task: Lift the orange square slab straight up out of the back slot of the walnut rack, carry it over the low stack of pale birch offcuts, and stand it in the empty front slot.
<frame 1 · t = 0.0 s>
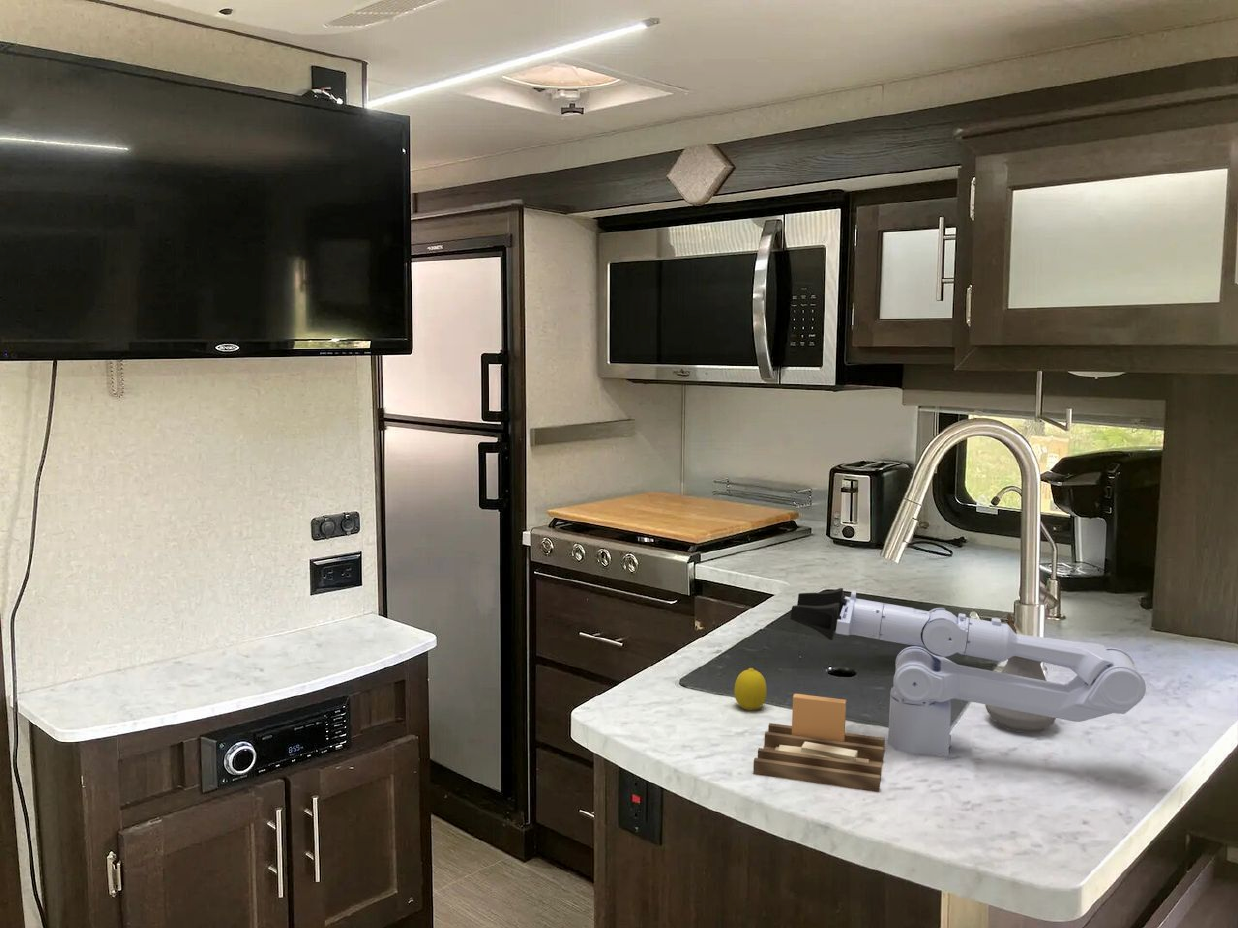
hand: (794, 605, 159), 22 cm above the worktop, tool horizontal, fingers open, 7 cm apart
orange square slab: (817, 747, 155), point 1 cm above the worktop, touching rack
offcut stack: (820, 761, 150), point 1 cm above the worktop, touching rack
lemon: (749, 713, 171), on the worktop
coffee pot: (1014, 713, 172), on the worktop
rack: (820, 766, 150), on the worktop
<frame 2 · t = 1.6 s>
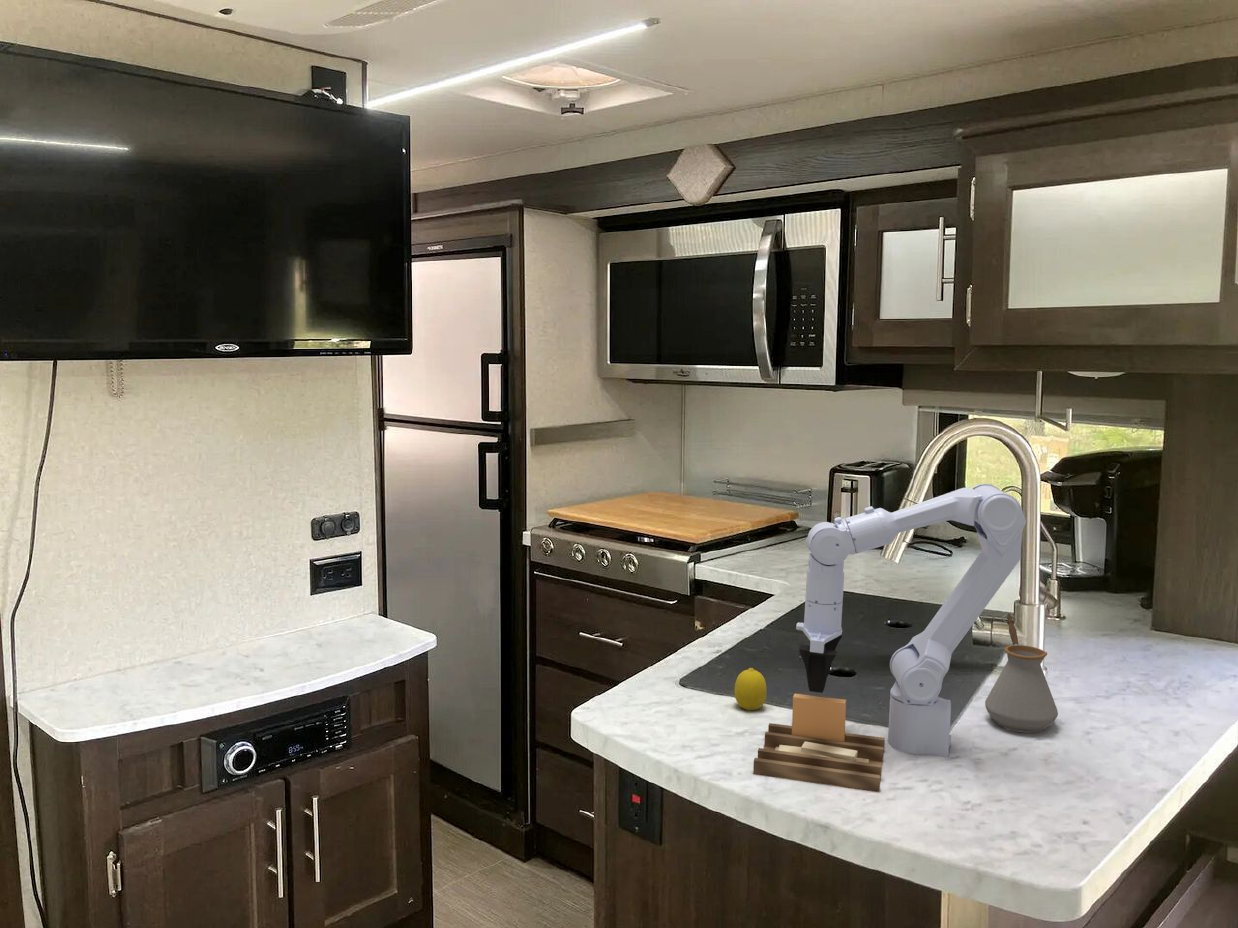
hand: (818, 682, 156), 10 cm above the worktop, tool pointing down, fingers open, 7 cm apart
nothing on the worktop moved.
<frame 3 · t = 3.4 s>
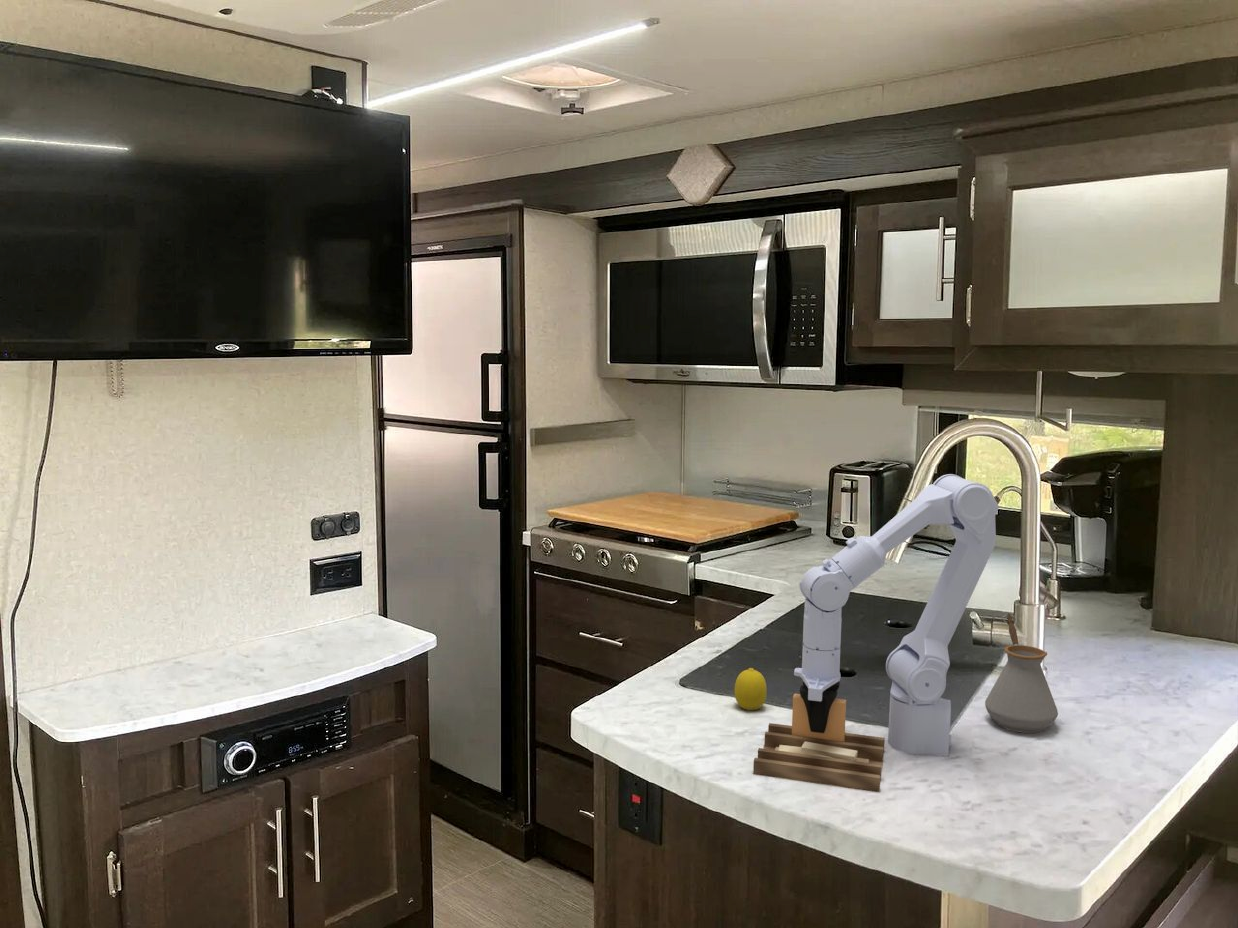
hand: (818, 728, 154), 4 cm above the worktop, tool pointing down, fingers closed on orange square slab, 2 cm apart
orange square slab: (817, 747, 155), point 1 cm above the worktop, touching gripper, rack
everything else where it was.
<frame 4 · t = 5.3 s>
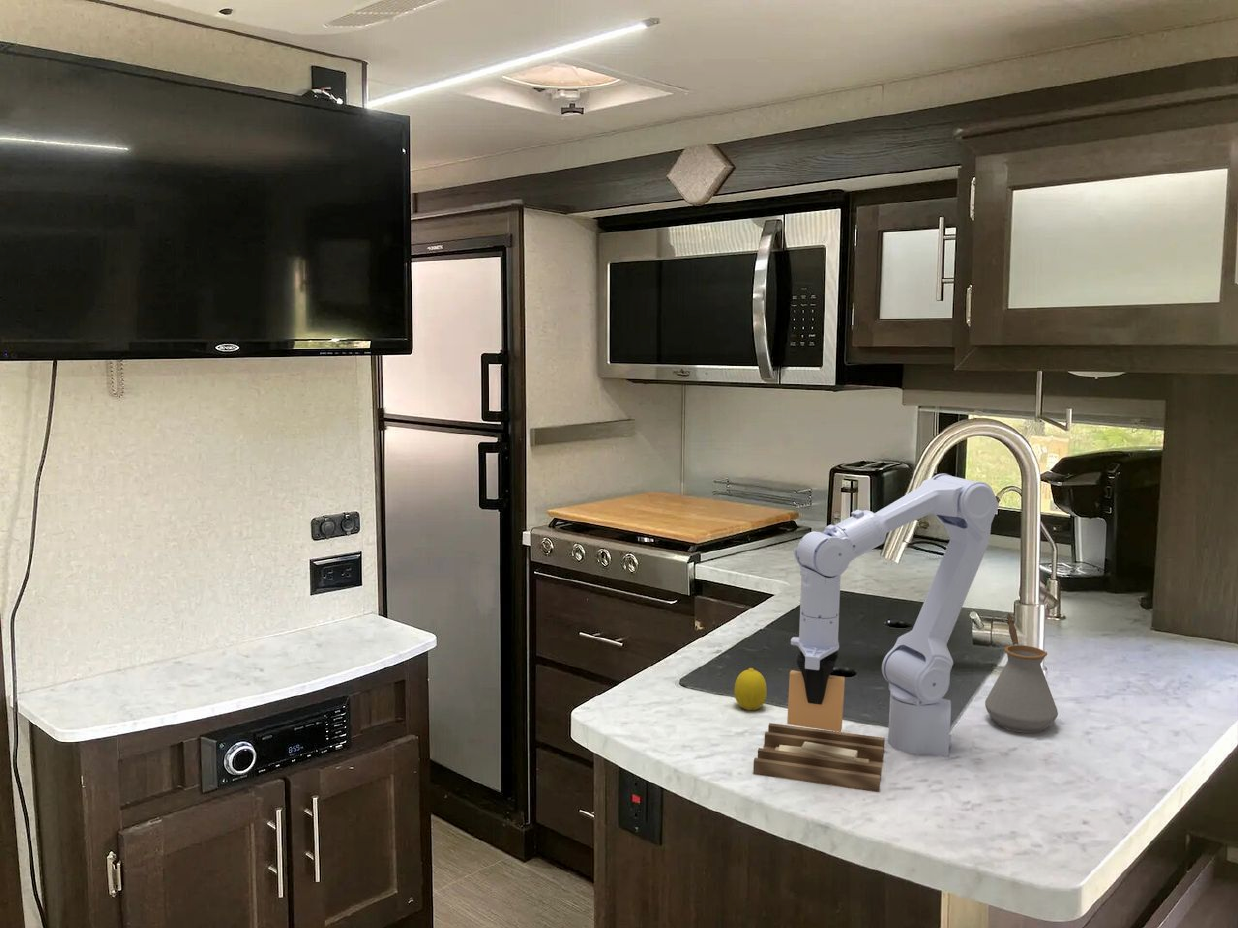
hand: (815, 700, 149), 10 cm above the worktop, tool pointing down, fingers closed on orange square slab
orange square slab: (814, 725, 149), point 6 cm above the worktop, touching gripper
everything else where it was.
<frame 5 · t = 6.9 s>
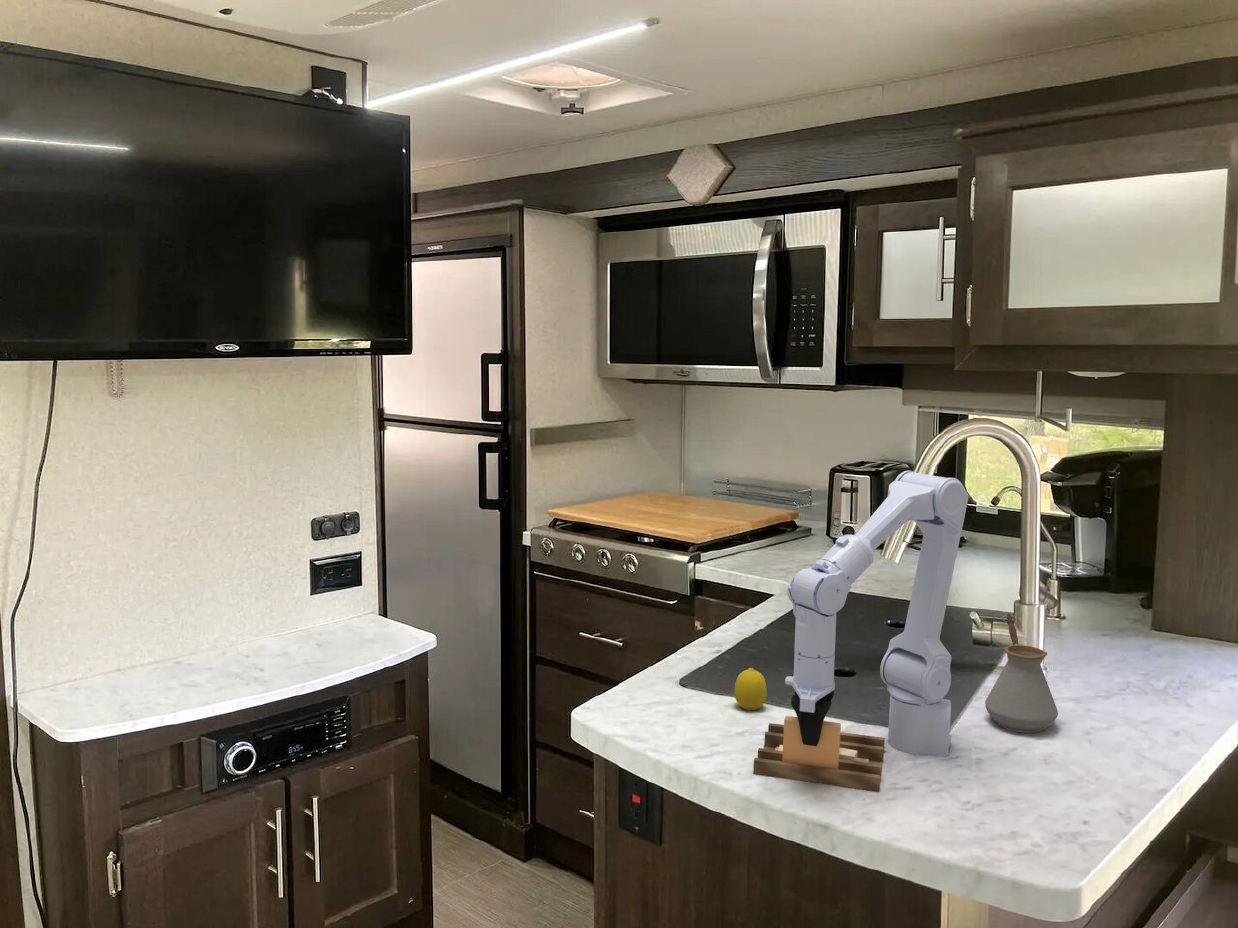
hand: (811, 741, 144), 6 cm above the worktop, tool pointing down, fingers closed on orange square slab, 2 cm apart
orange square slab: (809, 773, 145), point 1 cm above the worktop, touching gripper
everything else where it was.
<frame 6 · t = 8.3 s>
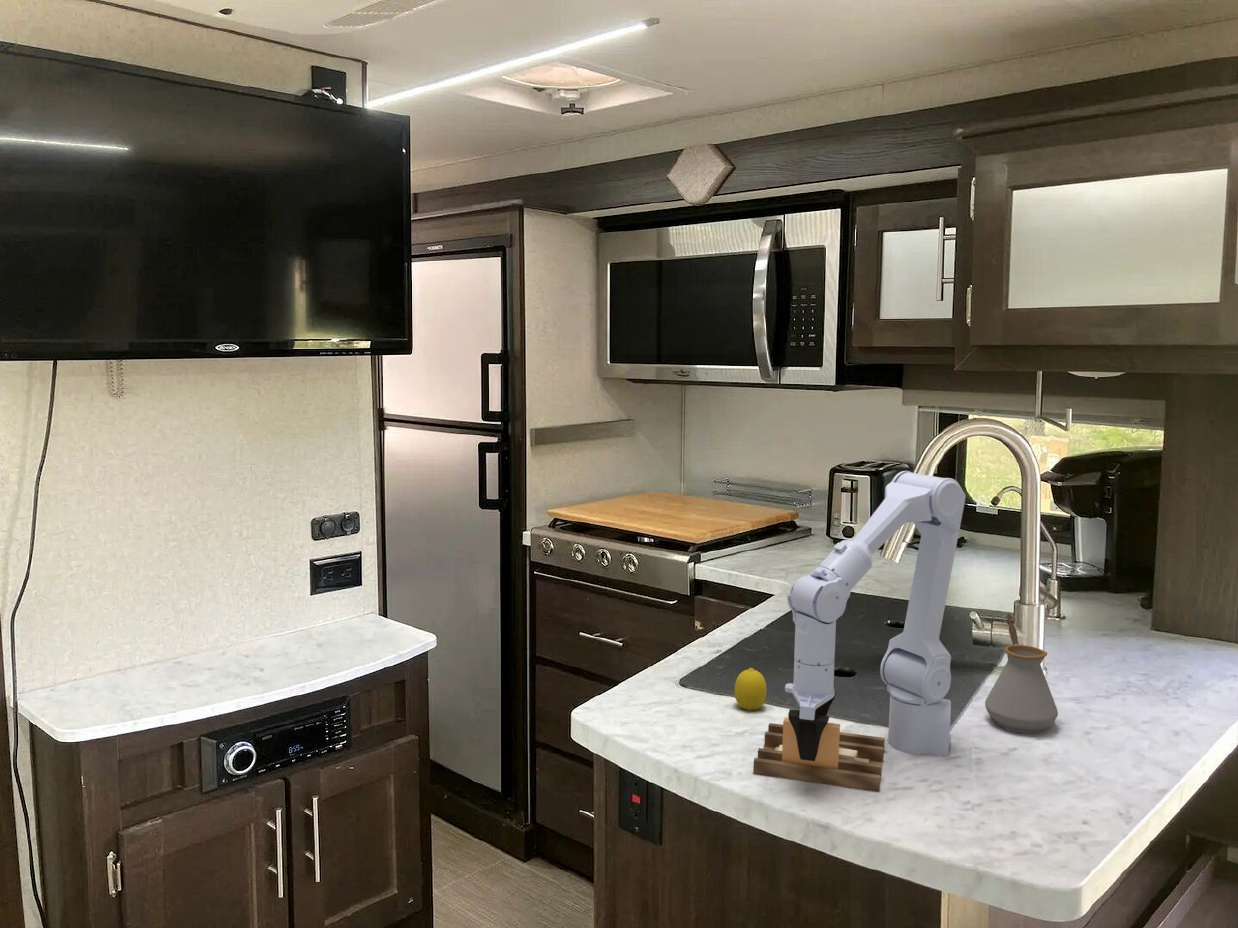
hand: (810, 748, 145), 5 cm above the worktop, tool pointing down, fingers open, 7 cm apart
orange square slab: (809, 774, 145), point 1 cm above the worktop, touching rack
everything else where it was.
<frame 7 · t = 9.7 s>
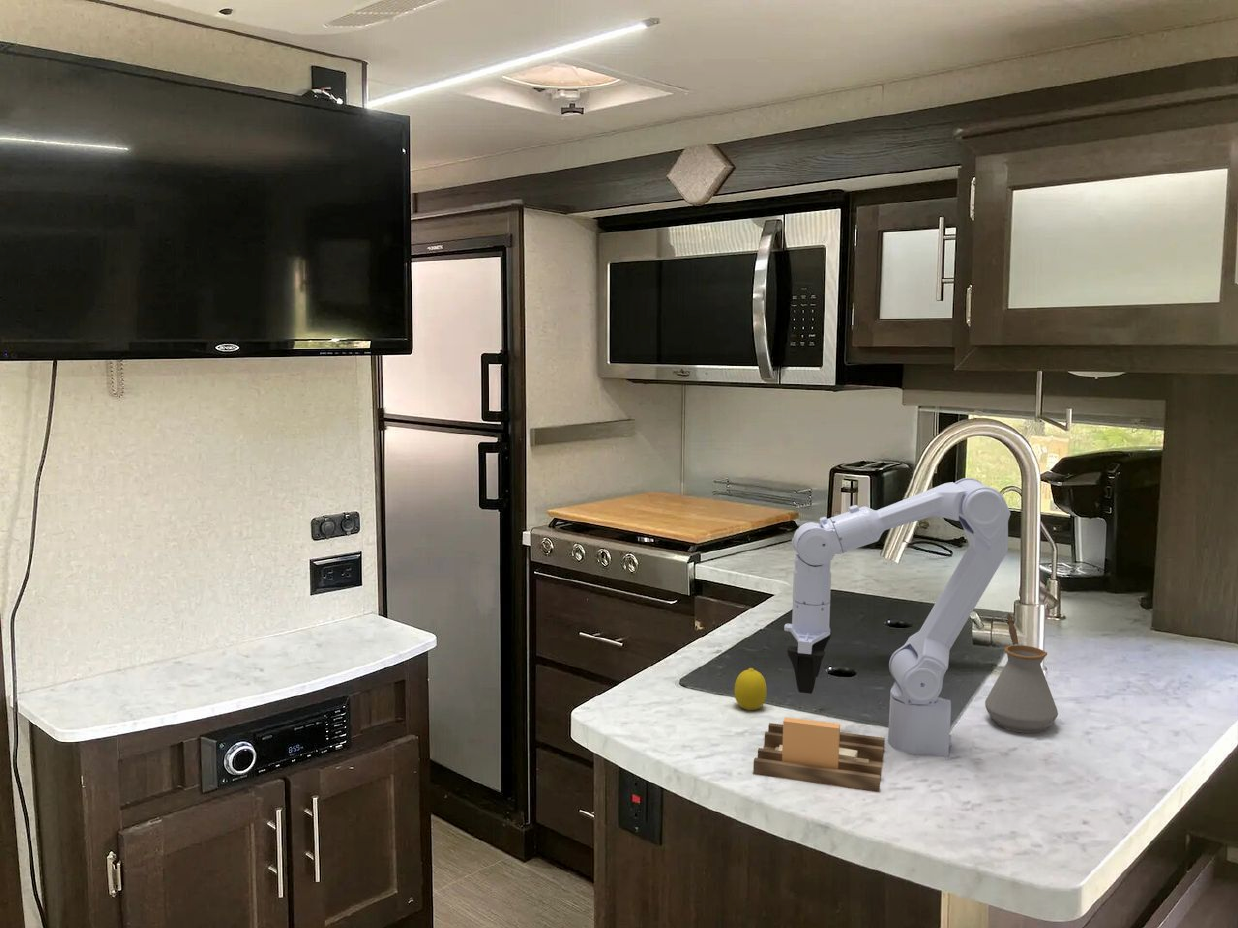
hand: (808, 683, 156), 10 cm above the worktop, tool pointing down, fingers open, 7 cm apart
nothing on the worktop moved.
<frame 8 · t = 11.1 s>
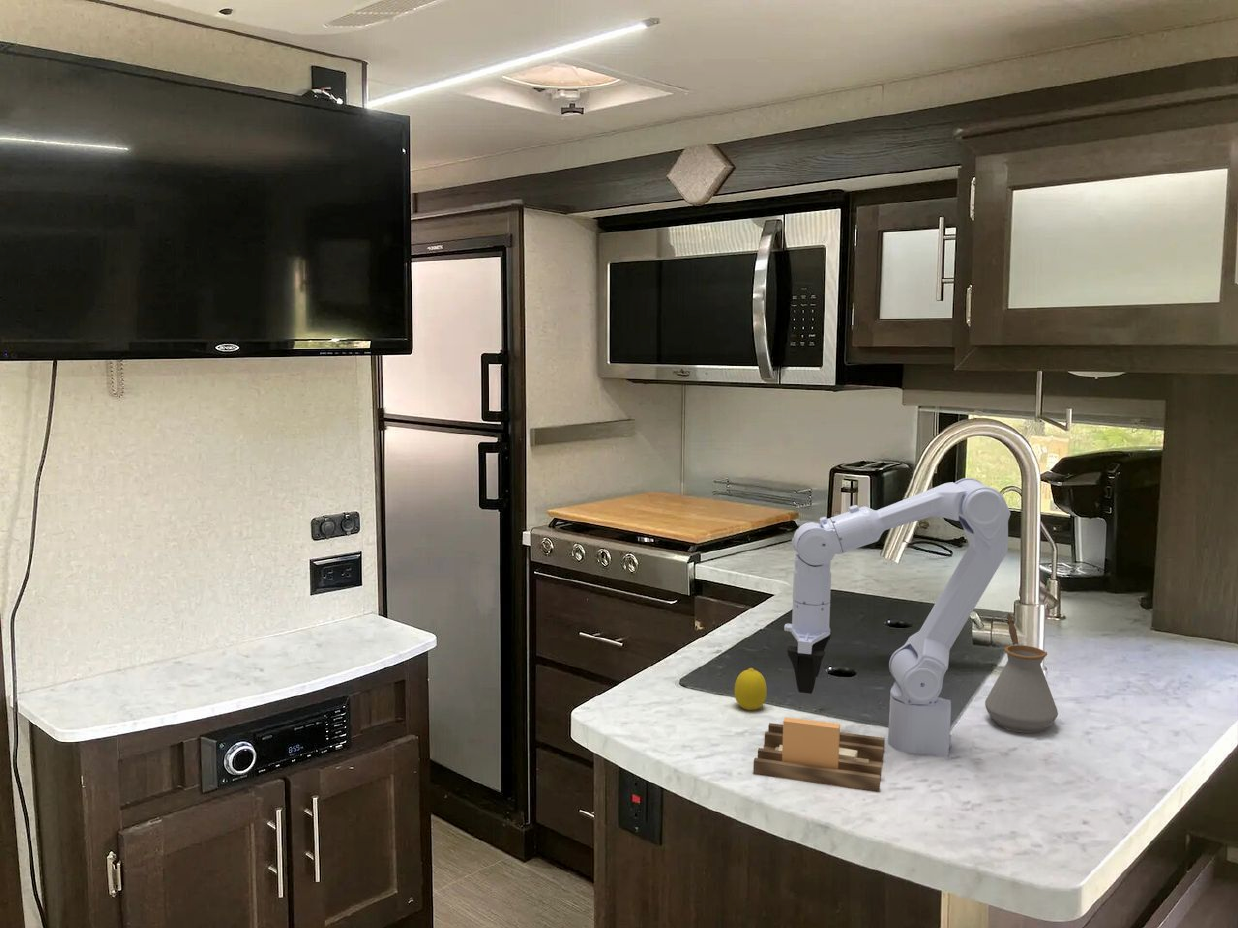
hand: (808, 683, 156), 10 cm above the worktop, tool pointing down, fingers open, 7 cm apart
nothing on the worktop moved.
at the end: orange square slab 0.0 cm from the target spot, point 1.0 cm above the worktop; orange square slab tilted 0°; the gripper is holding nothing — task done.
